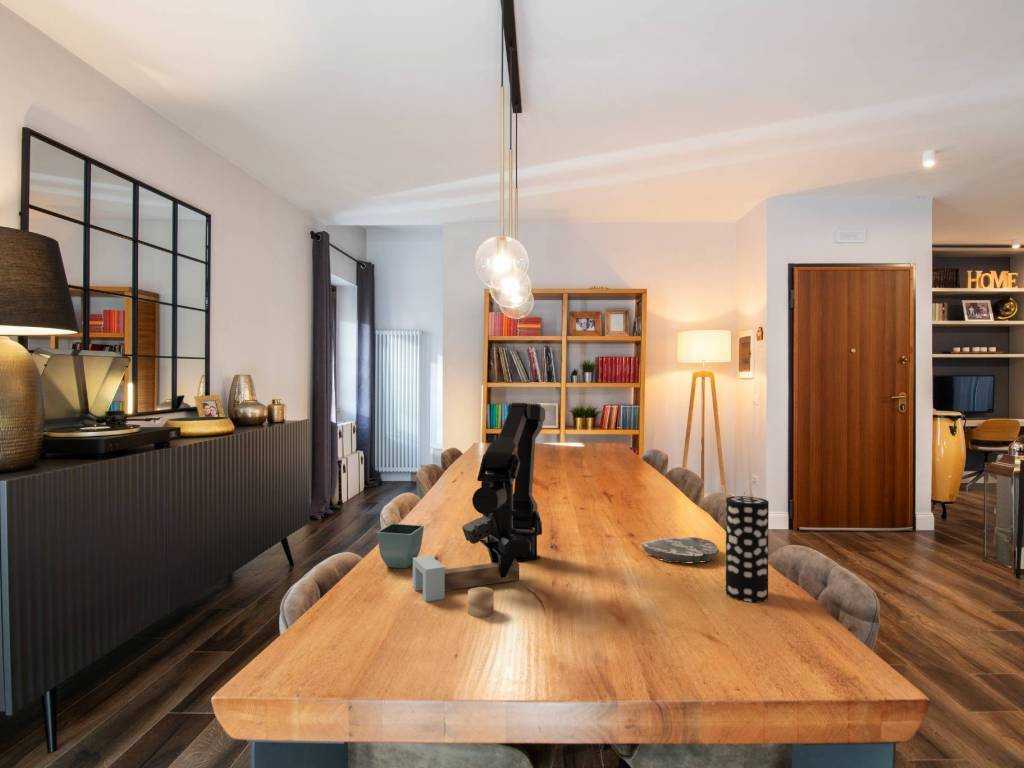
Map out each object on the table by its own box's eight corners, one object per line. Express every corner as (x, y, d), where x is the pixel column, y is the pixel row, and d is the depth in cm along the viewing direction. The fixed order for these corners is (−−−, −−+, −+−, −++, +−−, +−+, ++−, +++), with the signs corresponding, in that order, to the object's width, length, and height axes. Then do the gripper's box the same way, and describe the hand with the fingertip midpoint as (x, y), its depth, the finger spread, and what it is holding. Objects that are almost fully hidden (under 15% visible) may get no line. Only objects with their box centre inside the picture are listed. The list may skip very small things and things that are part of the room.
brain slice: (675, 571, 138) (675, 559, 138) (633, 552, 153) (633, 541, 153) (737, 562, 146) (737, 550, 146) (691, 545, 161) (691, 534, 161)
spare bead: (487, 605, 115) (487, 585, 115) (497, 614, 111) (498, 593, 111) (463, 609, 113) (464, 589, 113) (473, 619, 109) (473, 597, 109)
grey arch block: (430, 585, 127) (430, 555, 127) (444, 598, 119) (444, 567, 119) (412, 587, 125) (412, 557, 125) (425, 601, 117) (425, 569, 117)
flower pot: (411, 572, 135) (411, 534, 135) (376, 569, 137) (376, 531, 137) (424, 561, 144) (424, 525, 144) (391, 558, 146) (391, 523, 146)
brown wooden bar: (514, 575, 132) (514, 559, 132) (519, 579, 129) (519, 563, 129) (437, 586, 126) (437, 570, 125) (440, 591, 123) (440, 574, 123)
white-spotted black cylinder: (766, 590, 124) (766, 497, 124) (770, 604, 116) (770, 505, 116) (725, 586, 127) (725, 495, 127) (726, 599, 119) (726, 502, 119)
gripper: (451, 500, 134) (451, 568, 134) (484, 517, 117) (483, 594, 117) (495, 496, 139) (494, 561, 139) (532, 512, 122) (532, 586, 122)
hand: (499, 575), depth 129 cm, fingers closed on brown wooden bar, 3 cm apart
